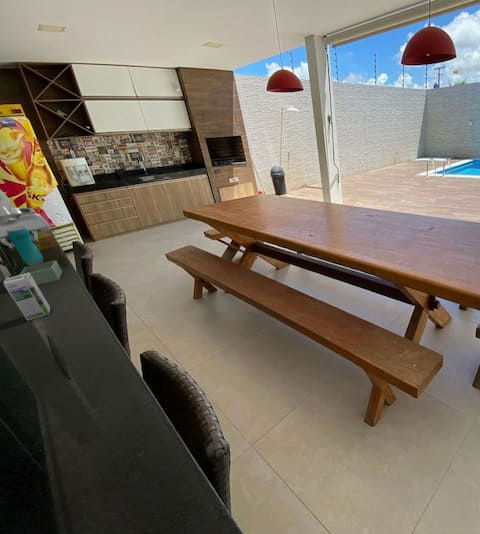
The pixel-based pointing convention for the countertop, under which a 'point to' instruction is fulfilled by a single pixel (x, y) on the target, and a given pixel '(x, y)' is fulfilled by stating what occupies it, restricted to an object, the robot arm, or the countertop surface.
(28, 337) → the countertop surface
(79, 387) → the countertop surface
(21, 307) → the syrup box
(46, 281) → the bin
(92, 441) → the countertop surface
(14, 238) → the teal tall block
